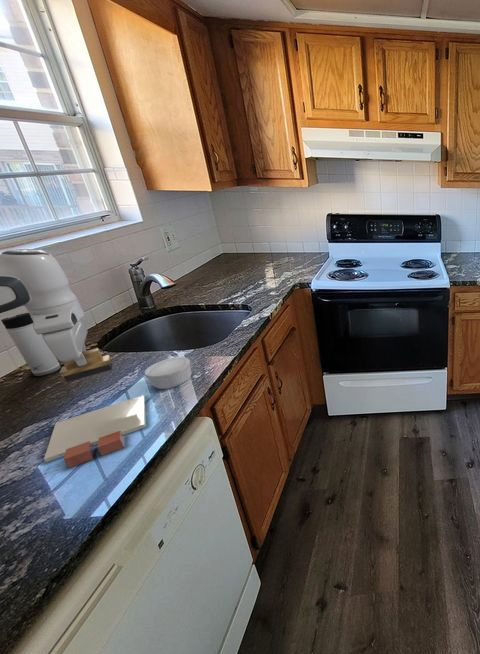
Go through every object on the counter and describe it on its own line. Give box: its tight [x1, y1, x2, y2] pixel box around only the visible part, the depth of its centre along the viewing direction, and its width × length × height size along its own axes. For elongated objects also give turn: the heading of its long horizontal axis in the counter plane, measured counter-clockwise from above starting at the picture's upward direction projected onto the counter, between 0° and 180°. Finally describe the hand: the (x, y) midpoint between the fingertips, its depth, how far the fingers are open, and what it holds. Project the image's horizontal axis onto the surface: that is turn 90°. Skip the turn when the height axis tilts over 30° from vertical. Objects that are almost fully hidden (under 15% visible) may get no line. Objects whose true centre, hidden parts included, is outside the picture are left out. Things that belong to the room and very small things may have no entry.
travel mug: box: [1, 312, 62, 377], centre depth 114 cm, size 6×7×20 cm
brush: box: [59, 348, 113, 383], centre depth 96 cm, size 10×4×6 cm, turn 128°
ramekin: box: [143, 356, 192, 390], centre depth 109 cm, size 11×11×5 cm
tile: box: [43, 394, 147, 463], centre depth 92 cm, size 18×16×1 cm
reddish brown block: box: [63, 441, 95, 469], centre depth 82 cm, size 4×4×2 cm
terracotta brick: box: [97, 431, 126, 456], centre depth 85 cm, size 4×4×2 cm
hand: (83, 361), depth 96 cm, fingers closed on brush, 2 cm apart
